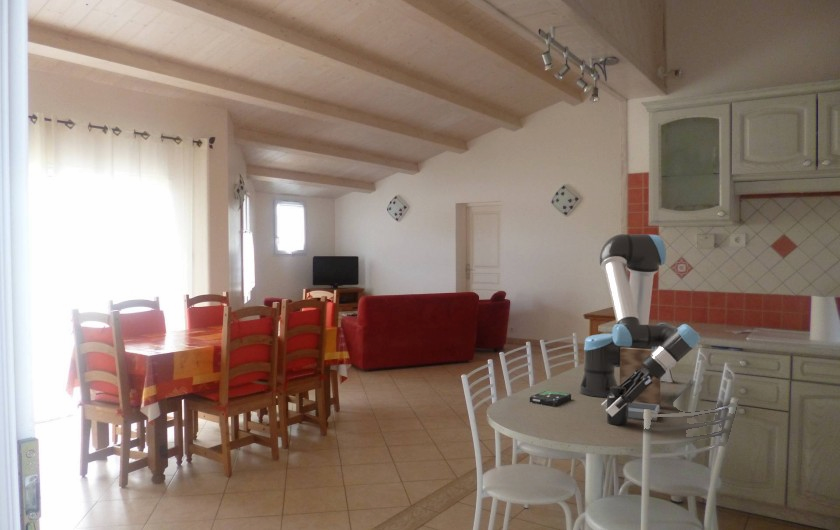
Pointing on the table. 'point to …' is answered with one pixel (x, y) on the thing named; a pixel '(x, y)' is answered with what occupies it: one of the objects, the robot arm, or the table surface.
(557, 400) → the disk drive
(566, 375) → the table surface
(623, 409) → the supplement bottle
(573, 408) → the table surface
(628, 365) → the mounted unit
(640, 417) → the tray
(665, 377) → the white black curved block
